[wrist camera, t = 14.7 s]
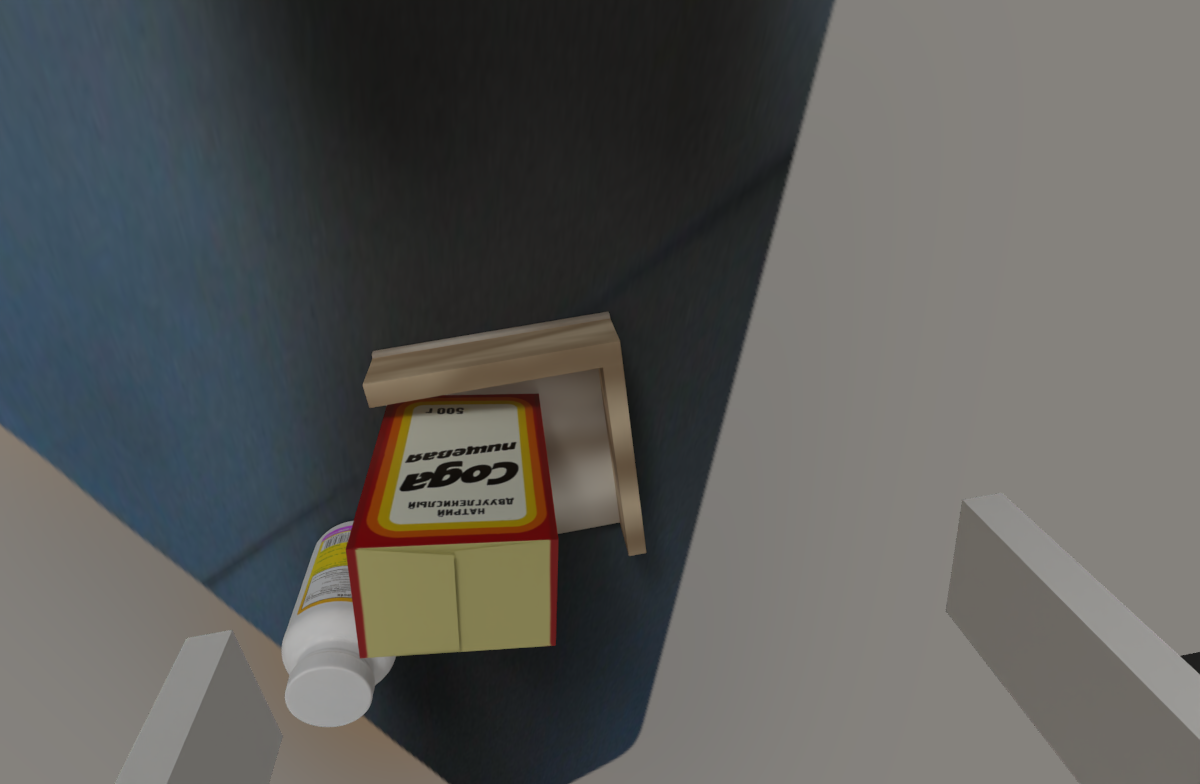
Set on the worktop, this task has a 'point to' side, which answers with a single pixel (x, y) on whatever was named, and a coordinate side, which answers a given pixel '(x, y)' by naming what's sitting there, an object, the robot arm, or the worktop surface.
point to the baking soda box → (456, 530)
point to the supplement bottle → (328, 642)
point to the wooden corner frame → (568, 405)
